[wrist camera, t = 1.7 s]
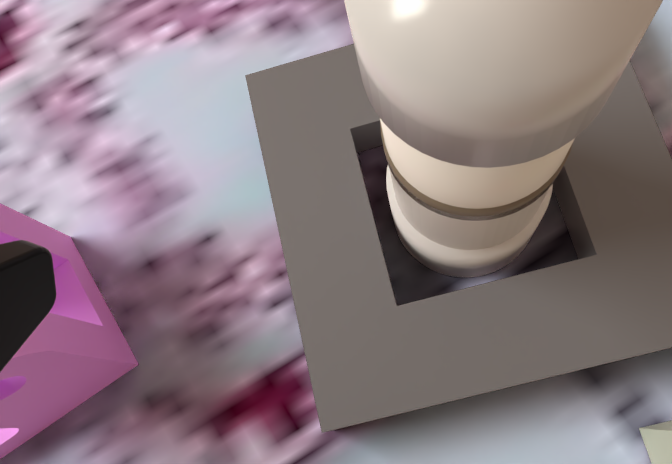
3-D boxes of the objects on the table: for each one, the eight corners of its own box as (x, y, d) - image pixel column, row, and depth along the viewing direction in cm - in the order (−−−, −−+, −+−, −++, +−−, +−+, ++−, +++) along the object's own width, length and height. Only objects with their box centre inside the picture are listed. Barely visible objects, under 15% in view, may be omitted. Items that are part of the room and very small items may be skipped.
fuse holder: (714, 337, 19) (744, 329, 17) (332, 430, 20) (322, 432, 18) (579, 10, 23) (593, -27, 21) (260, 102, 24) (245, 75, 22)
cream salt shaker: (557, 256, 21) (737, 28, 8) (413, 293, 21) (380, 128, 9) (511, 126, 22) (607, -236, 10) (377, 163, 22) (306, -140, 10)
